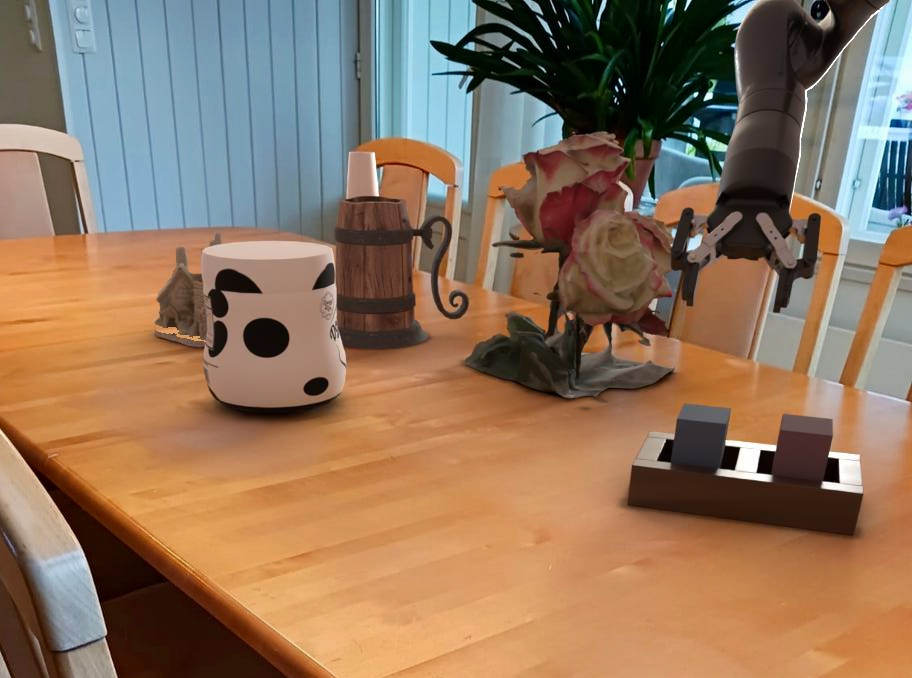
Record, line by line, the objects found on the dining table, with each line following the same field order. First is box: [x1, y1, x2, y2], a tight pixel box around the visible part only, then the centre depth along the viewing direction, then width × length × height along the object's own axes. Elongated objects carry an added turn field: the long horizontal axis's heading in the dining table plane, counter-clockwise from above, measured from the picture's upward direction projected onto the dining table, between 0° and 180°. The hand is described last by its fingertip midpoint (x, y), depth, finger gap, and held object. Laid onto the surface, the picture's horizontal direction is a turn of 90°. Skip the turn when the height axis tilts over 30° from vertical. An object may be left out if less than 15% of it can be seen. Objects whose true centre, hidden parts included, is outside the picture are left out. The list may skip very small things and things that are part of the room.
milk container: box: [200, 240, 347, 414], centre depth 117 cm, size 17×17×18 cm
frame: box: [626, 430, 865, 536], centre depth 94 cm, size 11×20×4 cm, turn 71°
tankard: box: [333, 195, 470, 349], centre depth 150 cm, size 24×17×20 cm
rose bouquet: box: [449, 130, 676, 400], centre depth 130 cm, size 26×29×30 cm
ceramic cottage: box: [154, 232, 223, 348], centre depth 150 cm, size 16×16×15 cm
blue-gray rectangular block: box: [671, 403, 732, 469], centre depth 94 cm, size 6×4×8 cm
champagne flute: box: [345, 151, 380, 199], centre depth 185 cm, size 7×7×24 cm
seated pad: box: [771, 413, 834, 481], centre depth 92 cm, size 6×4×8 cm
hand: (733, 305), depth 98 cm, fingers open, 8 cm apart
